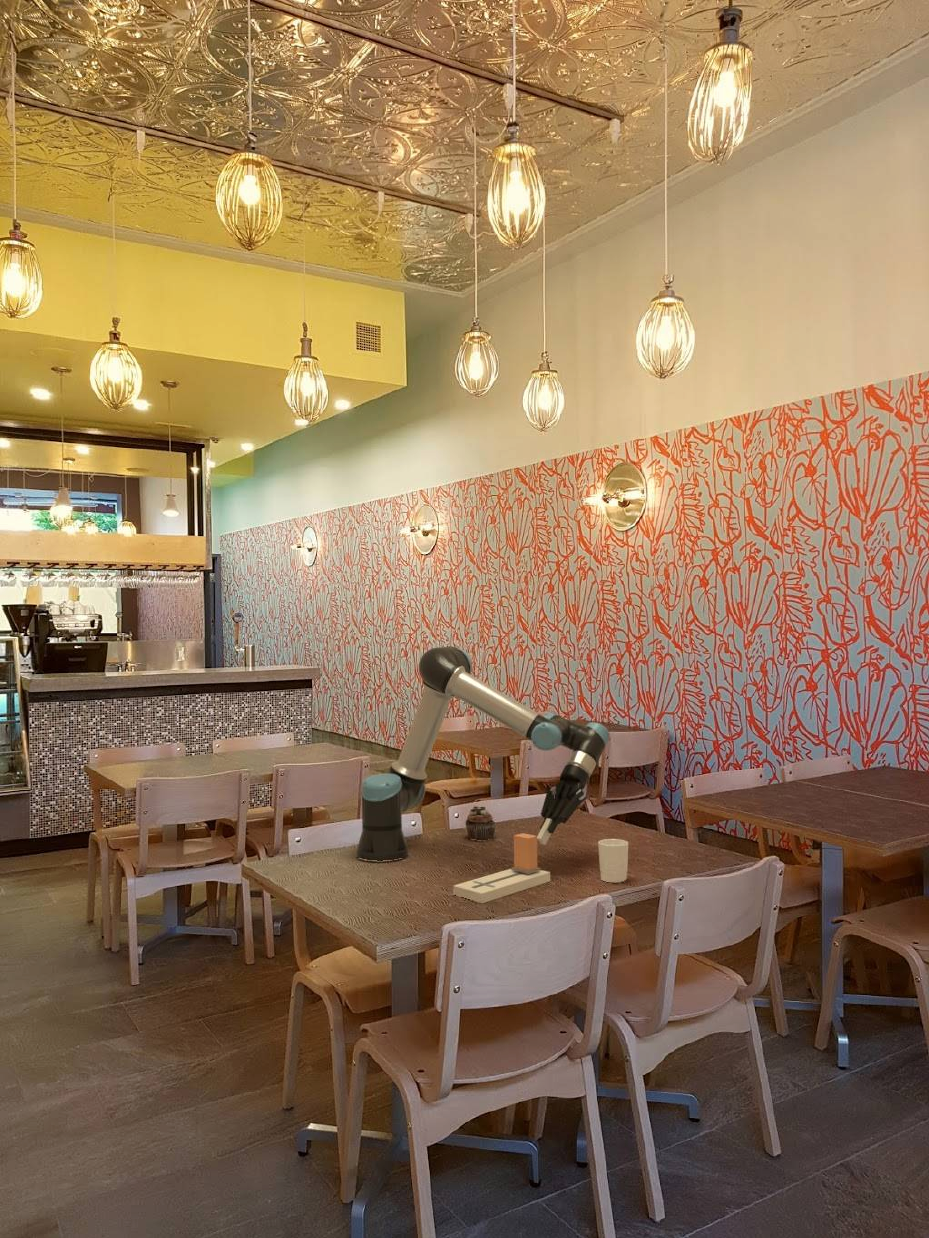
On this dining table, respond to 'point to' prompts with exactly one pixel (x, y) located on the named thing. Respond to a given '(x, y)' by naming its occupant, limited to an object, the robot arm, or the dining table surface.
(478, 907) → the dining table surface
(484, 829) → the cupcake
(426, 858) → the dining table surface
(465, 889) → the fader console
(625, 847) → the white cup
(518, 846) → the fader knob
